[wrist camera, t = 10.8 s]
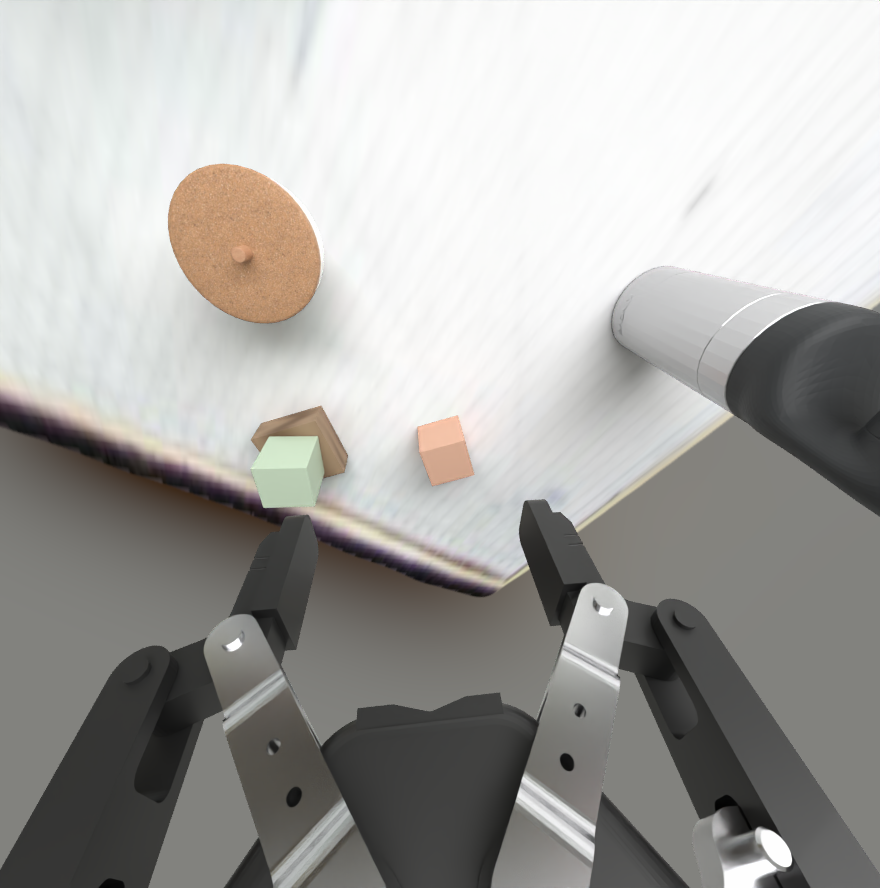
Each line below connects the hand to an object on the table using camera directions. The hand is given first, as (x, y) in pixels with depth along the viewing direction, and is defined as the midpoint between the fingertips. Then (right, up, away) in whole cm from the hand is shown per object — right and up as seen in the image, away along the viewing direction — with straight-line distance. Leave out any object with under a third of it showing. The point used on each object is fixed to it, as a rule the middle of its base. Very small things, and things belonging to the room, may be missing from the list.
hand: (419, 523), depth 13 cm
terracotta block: (+1, +4, +34) cm, 34 cm away
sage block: (-16, +2, +29) cm, 33 cm away
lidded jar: (-15, +22, +20) cm, 33 cm away
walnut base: (-17, +4, +33) cm, 37 cm away
